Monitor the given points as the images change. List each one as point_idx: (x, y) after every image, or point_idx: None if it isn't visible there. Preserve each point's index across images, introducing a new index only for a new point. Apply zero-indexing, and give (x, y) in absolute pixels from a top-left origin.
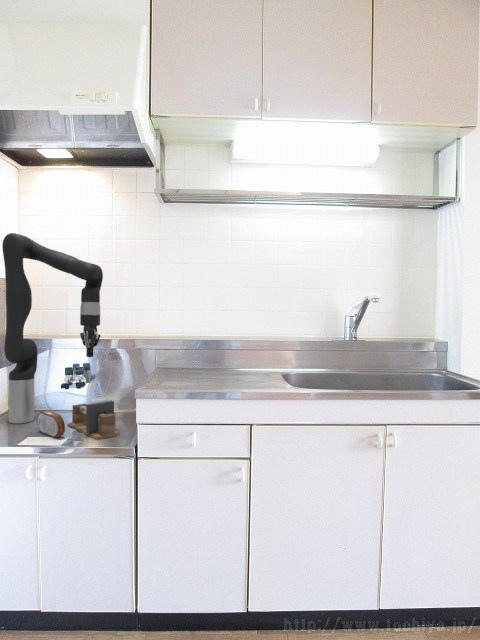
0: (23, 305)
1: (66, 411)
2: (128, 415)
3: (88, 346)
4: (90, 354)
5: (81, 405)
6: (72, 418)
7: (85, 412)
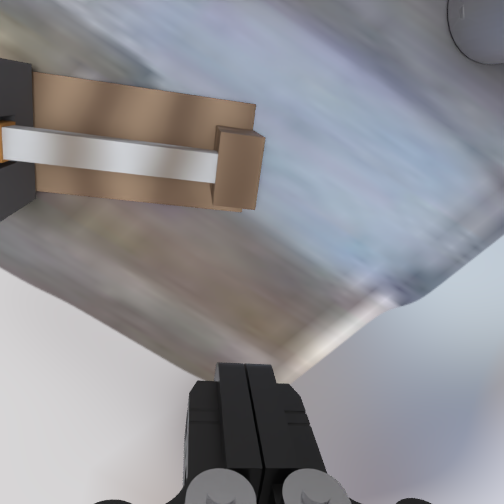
0: None
1: (461, 236)
2: (201, 369)
3: (202, 495)
4: (188, 403)
5: (225, 170)
6: (254, 131)
7: (145, 142)
